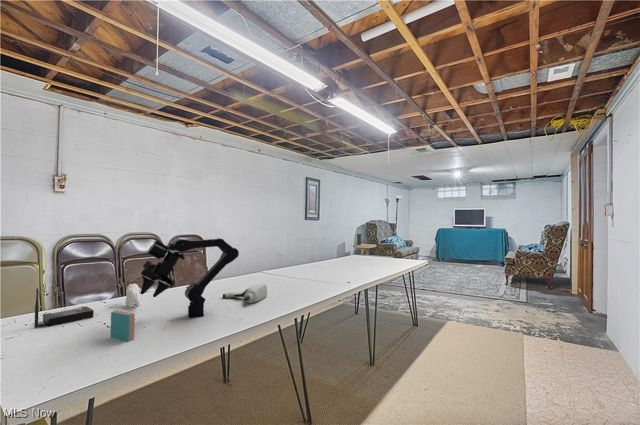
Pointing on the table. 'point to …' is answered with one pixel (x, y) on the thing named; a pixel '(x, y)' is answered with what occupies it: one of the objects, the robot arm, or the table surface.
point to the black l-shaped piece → (62, 315)
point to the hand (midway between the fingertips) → (147, 295)
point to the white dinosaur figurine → (133, 295)
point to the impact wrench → (250, 293)
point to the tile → (122, 325)
